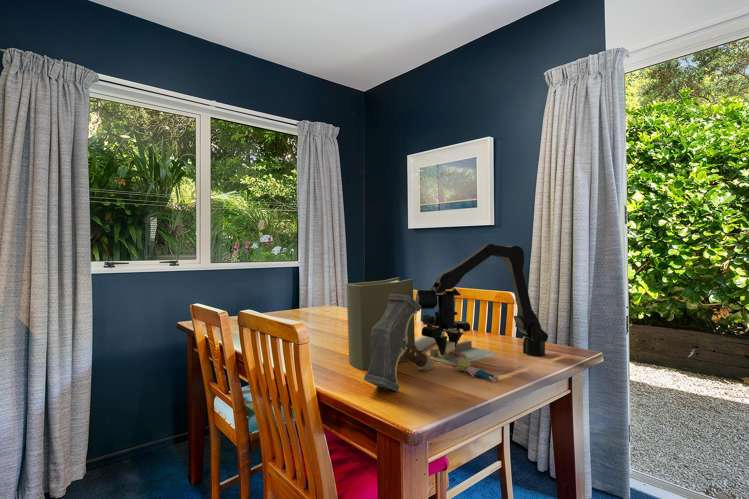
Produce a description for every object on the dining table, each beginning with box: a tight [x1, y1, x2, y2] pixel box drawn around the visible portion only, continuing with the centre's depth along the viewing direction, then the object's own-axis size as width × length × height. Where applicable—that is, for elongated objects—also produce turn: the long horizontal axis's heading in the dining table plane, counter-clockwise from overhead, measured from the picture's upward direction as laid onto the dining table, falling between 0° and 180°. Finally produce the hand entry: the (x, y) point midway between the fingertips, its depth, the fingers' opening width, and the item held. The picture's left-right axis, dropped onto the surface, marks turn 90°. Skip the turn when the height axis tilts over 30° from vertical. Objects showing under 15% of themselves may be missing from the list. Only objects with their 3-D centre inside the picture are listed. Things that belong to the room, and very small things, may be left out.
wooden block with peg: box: [438, 340, 466, 359], centre depth 141 cm, size 10×4×5 cm, turn 37°
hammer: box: [363, 294, 434, 393], centre depth 122 cm, size 27×9×30 cm
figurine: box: [455, 356, 500, 384], centre depth 126 cm, size 6×4×15 cm
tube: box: [415, 335, 437, 352], centre depth 159 cm, size 5×5×25 cm
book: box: [346, 276, 416, 371], centre depth 141 cm, size 22×9×28 cm, turn 121°
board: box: [428, 340, 499, 369], centre depth 146 cm, size 14×22×3 cm, turn 127°
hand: (446, 353), depth 143 cm, fingers closed on wooden block with peg, 4 cm apart
